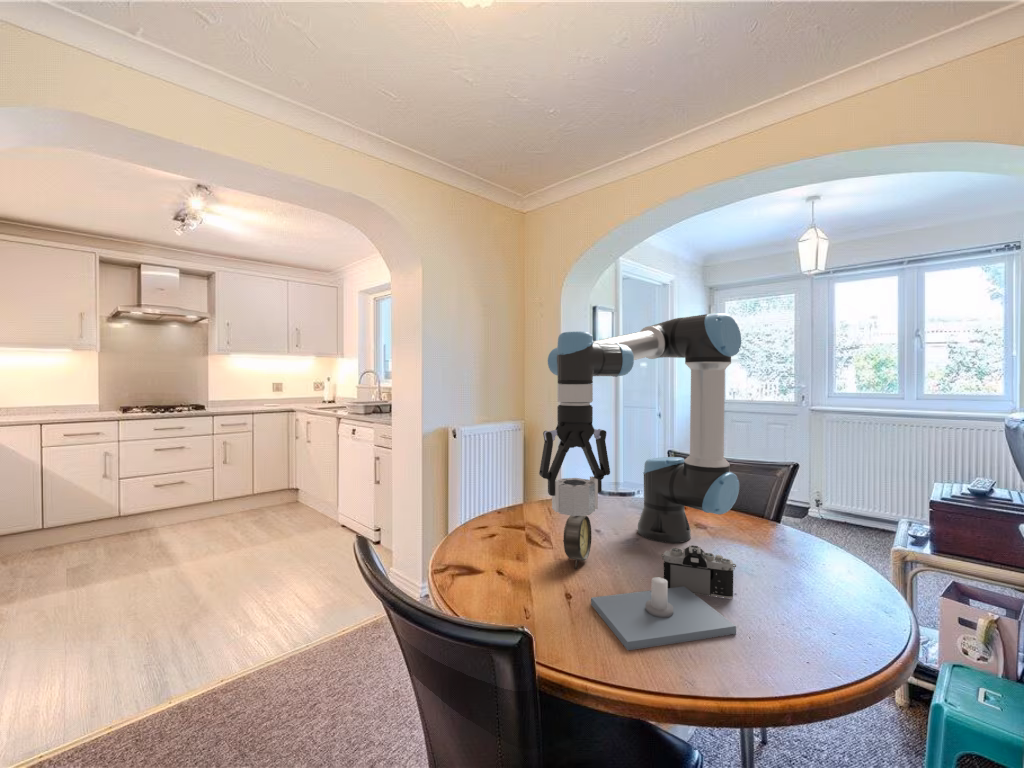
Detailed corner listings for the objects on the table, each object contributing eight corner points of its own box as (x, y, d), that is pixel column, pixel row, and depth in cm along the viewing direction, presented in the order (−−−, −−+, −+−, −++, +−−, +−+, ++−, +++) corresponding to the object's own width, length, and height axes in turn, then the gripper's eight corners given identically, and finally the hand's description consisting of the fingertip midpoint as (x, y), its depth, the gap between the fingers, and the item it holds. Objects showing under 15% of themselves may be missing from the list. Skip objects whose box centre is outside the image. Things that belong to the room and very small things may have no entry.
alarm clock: (580, 572, 109) (581, 506, 109) (559, 568, 111) (560, 503, 111) (592, 555, 119) (592, 495, 119) (573, 552, 121) (573, 492, 121)
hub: (585, 503, 102) (585, 477, 102) (599, 514, 94) (599, 485, 94) (551, 505, 100) (551, 479, 100) (563, 516, 92) (563, 488, 92)
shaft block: (684, 593, 99) (684, 559, 98) (736, 634, 83) (736, 593, 83) (591, 604, 94) (591, 569, 93) (627, 650, 78) (627, 607, 78)
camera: (733, 585, 103) (733, 541, 102) (737, 603, 94) (738, 556, 94) (662, 574, 108) (662, 533, 108) (660, 590, 100) (660, 546, 100)
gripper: (612, 402, 102) (612, 501, 103) (523, 403, 98) (524, 506, 98) (627, 404, 95) (627, 510, 95) (532, 405, 90) (532, 517, 91)
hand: (574, 508), depth 97 cm, fingers closed on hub, 8 cm apart
